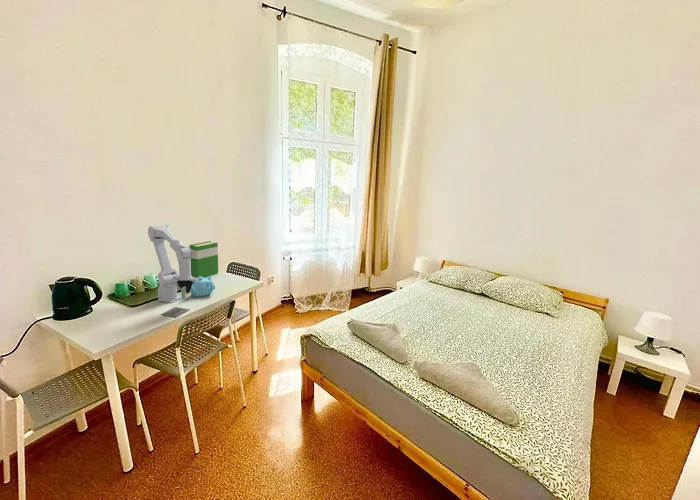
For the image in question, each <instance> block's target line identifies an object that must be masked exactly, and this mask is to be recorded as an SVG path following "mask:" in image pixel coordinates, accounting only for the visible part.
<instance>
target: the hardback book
mask: <svg viewBox="0 0 700 500" xmlns="http://www.w3.org/2000/svg"><path fill="white" fill-rule="evenodd" d="M188 247H190V248H191V250H192V253H193V255H192V257H190V261H191V276H192V277H195V278H198V277H203V278H208V276H211V277H212V275H213V276H216V275H218V274H219V250H218V249H219V247H218V242H212V241H211V240H208V241H205V242H204V241H203V242H198V243H194V244H189V245H188ZM217 273H218V274H217ZM215 274H216V275H215Z"/></svg>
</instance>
